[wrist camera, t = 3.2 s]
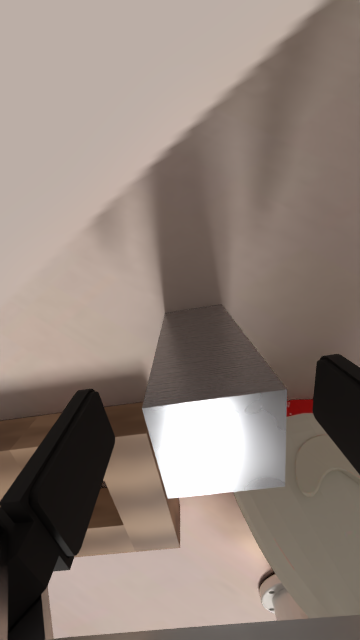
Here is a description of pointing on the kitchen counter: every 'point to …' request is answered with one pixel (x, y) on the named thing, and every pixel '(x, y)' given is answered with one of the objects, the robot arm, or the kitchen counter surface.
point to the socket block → (108, 483)
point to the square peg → (214, 408)
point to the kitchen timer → (311, 520)
